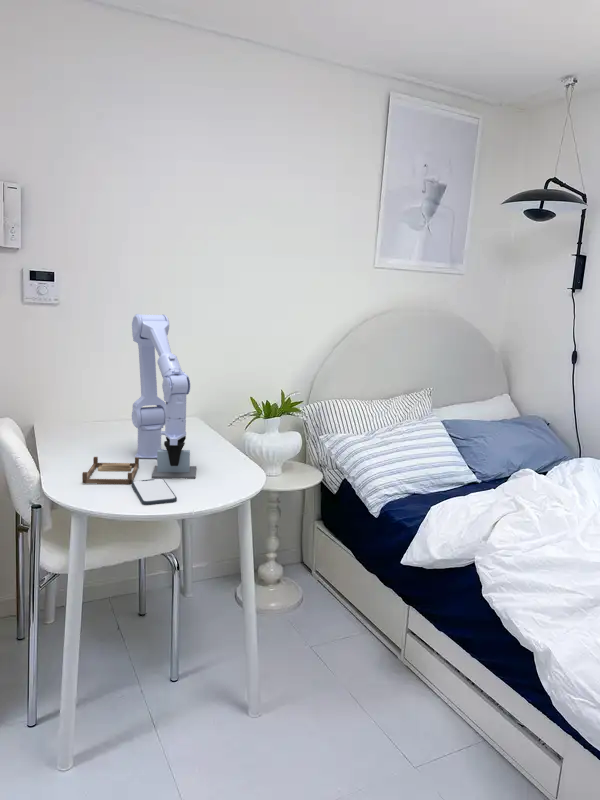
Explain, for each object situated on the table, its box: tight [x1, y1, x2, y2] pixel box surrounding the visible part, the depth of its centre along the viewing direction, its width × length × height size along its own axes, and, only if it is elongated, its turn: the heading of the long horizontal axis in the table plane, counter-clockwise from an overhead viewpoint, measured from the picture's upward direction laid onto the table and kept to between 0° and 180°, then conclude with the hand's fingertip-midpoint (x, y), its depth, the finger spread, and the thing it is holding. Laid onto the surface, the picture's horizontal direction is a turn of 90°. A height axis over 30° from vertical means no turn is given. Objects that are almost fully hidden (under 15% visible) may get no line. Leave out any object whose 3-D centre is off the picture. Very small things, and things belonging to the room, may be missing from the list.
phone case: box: [131, 478, 178, 506], centre depth 152 cm, size 9×2×16 cm
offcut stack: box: [97, 462, 133, 472], centre depth 169 cm, size 3×9×2 cm, turn 98°
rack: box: [81, 456, 140, 485], centre depth 164 cm, size 16×13×3 cm
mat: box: [151, 465, 197, 480], centre depth 169 cm, size 10×12×1 cm
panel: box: [156, 449, 191, 472], centre depth 169 cm, size 2×9×6 cm, turn 98°
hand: (174, 463), depth 169 cm, fingers open, 4 cm apart
